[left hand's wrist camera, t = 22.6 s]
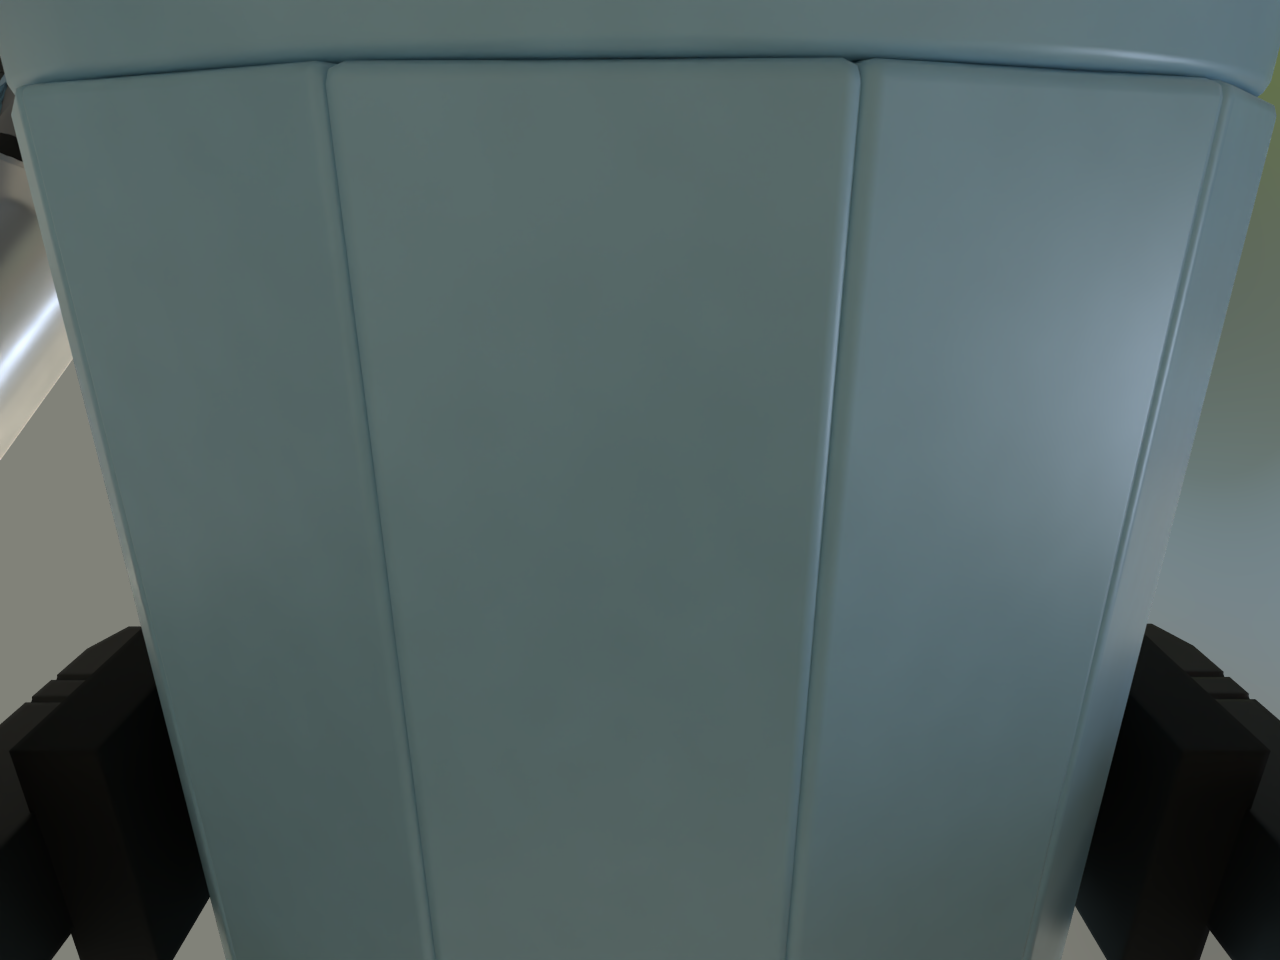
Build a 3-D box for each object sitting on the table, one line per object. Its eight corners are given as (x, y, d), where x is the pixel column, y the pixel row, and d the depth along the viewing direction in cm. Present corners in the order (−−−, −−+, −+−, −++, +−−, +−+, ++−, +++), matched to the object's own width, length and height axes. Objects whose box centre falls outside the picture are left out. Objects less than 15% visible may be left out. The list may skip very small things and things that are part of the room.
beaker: (1893, -158, 3) (1189, 1393, 8) (885, 73, 12) (819, 756, 16) (-917, -421, 2) (176, 1694, 6) (224, 59, 10) (349, 818, 15)
